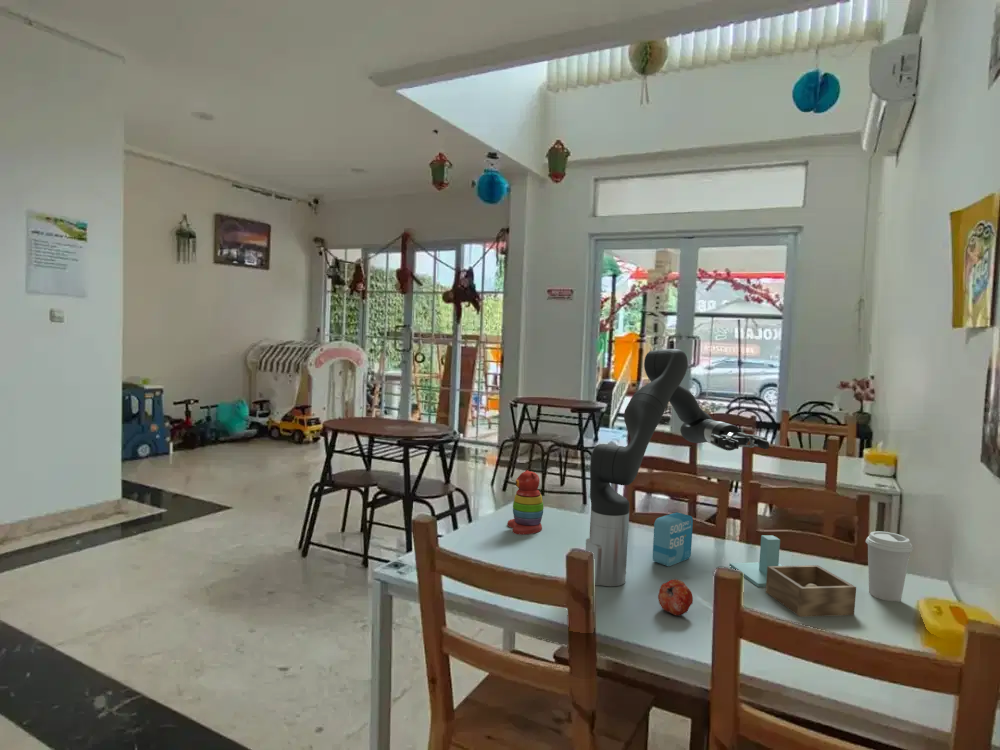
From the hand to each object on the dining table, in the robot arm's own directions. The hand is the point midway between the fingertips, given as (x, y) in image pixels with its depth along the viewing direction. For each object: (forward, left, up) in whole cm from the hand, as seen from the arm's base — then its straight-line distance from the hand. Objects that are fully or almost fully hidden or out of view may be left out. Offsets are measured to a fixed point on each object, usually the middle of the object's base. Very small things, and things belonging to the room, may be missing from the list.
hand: (752, 445), depth 169 cm
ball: (-3, -26, -31) cm, 40 cm away
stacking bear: (-48, +40, -32) cm, 70 cm away
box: (-5, -27, -32) cm, 42 cm away
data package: (-19, +6, -32) cm, 38 cm away
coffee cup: (+17, -28, -32) cm, 46 cm away
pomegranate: (-37, -22, -32) cm, 54 cm away
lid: (-2, -11, -32) cm, 34 cm away
